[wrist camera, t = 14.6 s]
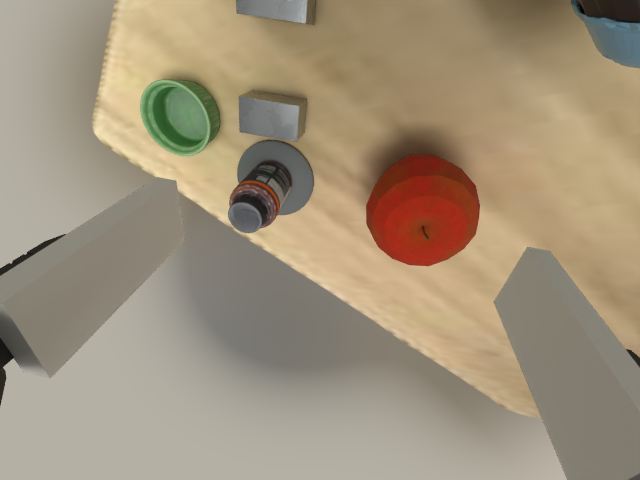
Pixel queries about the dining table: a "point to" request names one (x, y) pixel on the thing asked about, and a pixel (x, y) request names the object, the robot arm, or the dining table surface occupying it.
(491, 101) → the dining table surface
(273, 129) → the vise
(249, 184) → the supplement bottle
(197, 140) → the ramekin
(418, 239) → the apple
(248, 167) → the coaster
